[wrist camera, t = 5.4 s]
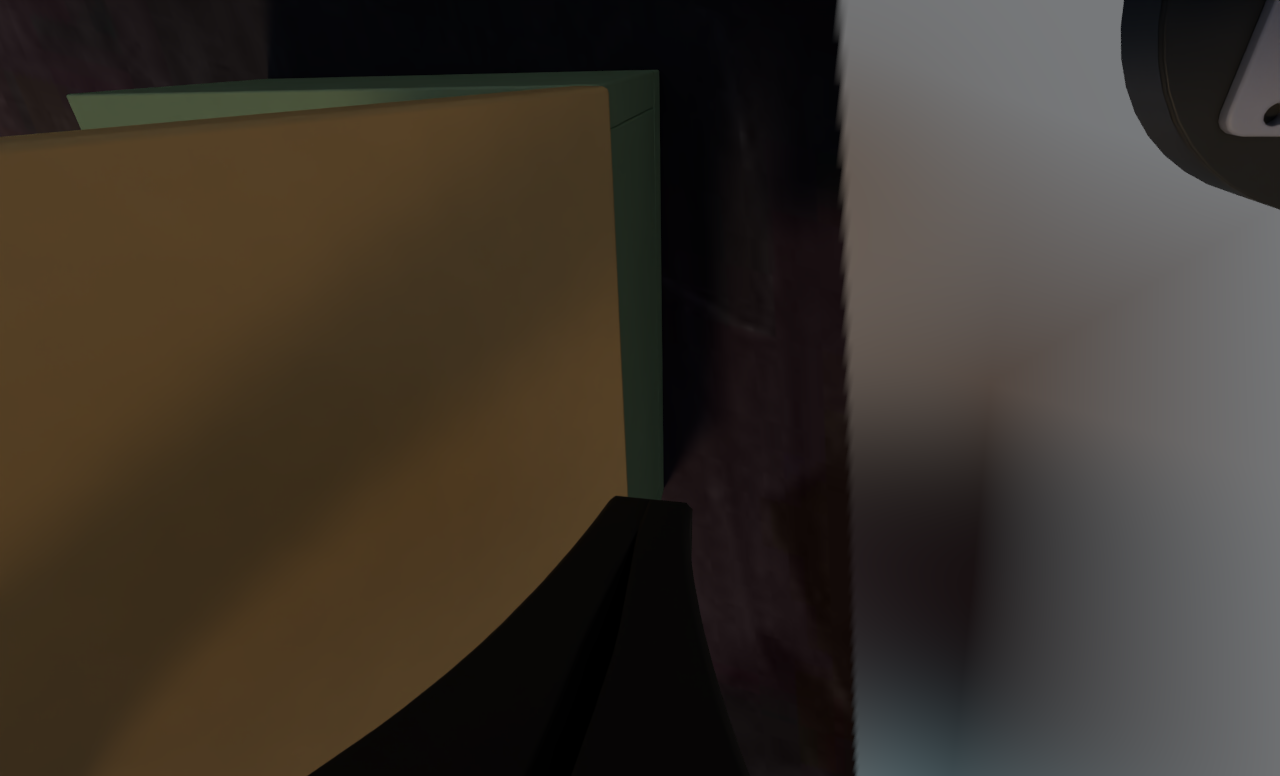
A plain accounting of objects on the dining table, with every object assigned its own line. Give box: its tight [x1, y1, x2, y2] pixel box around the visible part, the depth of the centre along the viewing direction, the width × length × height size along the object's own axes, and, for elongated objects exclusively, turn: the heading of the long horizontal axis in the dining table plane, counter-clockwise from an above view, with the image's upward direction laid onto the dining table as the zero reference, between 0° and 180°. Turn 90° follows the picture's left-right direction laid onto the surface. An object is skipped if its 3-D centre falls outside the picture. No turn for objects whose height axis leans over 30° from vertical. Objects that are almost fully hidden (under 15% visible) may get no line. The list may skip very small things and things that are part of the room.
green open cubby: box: [67, 70, 664, 500], centre depth 17 cm, size 12×14×6 cm
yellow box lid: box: [0, 86, 628, 776], centre depth 9 cm, size 12×14×1 cm
